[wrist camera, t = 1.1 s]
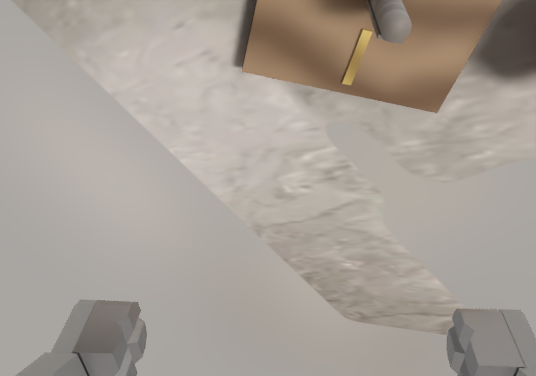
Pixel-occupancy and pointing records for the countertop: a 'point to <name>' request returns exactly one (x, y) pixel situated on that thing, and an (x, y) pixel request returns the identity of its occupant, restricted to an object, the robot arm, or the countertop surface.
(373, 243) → the countertop surface
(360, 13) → the brown square board
